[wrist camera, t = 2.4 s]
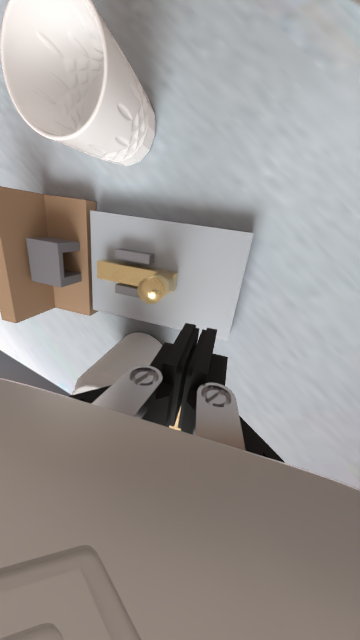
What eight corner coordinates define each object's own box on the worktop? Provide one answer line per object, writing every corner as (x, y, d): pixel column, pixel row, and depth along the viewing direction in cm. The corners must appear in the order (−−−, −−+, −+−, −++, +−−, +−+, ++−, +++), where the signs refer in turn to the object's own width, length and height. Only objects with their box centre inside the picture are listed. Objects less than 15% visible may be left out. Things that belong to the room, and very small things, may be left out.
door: (255, 222, 23) (260, 219, 16) (227, 341, 29) (221, 377, 22) (43, 194, 28) (-27, 182, 21) (53, 300, 34) (2, 319, 26)
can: (119, 326, 32) (57, 374, 22) (169, 333, 31) (128, 389, 20) (123, 370, 35) (70, 432, 24) (169, 378, 33) (133, 449, 23)
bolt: (179, 270, 25) (163, 281, 20) (177, 291, 26) (160, 306, 21) (104, 257, 26) (72, 263, 21) (105, 277, 27) (73, 287, 22)
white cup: (127, 53, 21) (39, -79, 12) (177, 130, 22) (131, 62, 13) (78, 125, 24) (-19, 64, 15) (124, 189, 25) (59, 167, 16)
